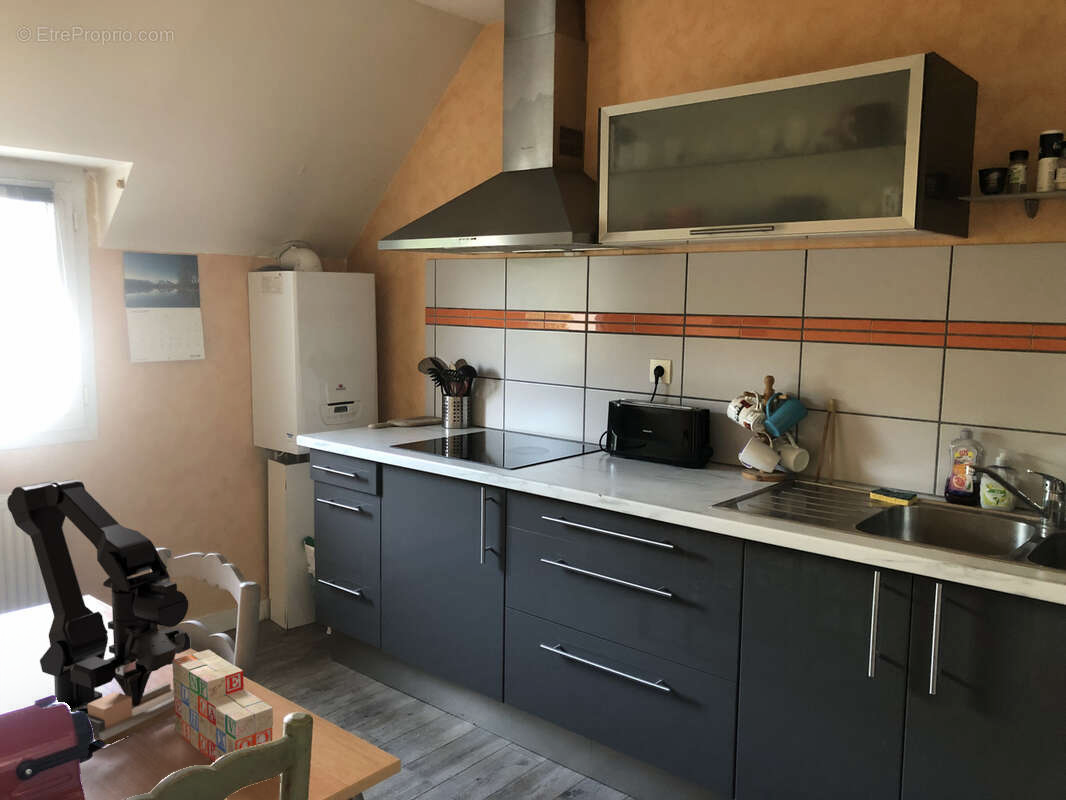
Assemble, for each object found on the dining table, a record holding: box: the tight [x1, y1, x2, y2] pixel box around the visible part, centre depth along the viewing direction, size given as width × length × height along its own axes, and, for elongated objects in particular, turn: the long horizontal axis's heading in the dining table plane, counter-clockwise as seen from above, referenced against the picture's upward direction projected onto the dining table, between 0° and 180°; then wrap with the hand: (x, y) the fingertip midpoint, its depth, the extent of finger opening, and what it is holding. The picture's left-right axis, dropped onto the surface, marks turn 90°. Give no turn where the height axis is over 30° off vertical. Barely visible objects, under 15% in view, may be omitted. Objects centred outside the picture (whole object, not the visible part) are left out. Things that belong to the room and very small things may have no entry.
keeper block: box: [87, 691, 132, 730], centre depth 138 cm, size 4×5×4 cm
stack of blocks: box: [171, 649, 274, 762], centre depth 134 cm, size 21×6×12 cm, turn 46°
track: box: [85, 682, 175, 744], centre depth 142 cm, size 7×17×4 cm, turn 152°
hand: (135, 705), depth 142 cm, fingers closed
